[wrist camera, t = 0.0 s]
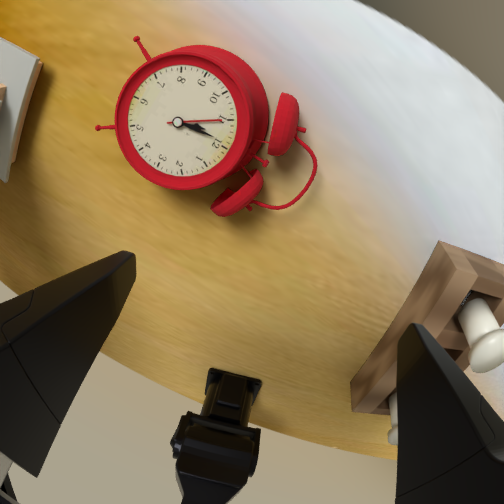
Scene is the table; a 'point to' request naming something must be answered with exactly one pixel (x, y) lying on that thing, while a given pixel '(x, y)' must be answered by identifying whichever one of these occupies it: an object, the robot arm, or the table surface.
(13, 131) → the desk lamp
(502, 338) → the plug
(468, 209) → the table surface
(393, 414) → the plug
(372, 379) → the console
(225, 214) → the alarm clock
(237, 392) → the robot arm
